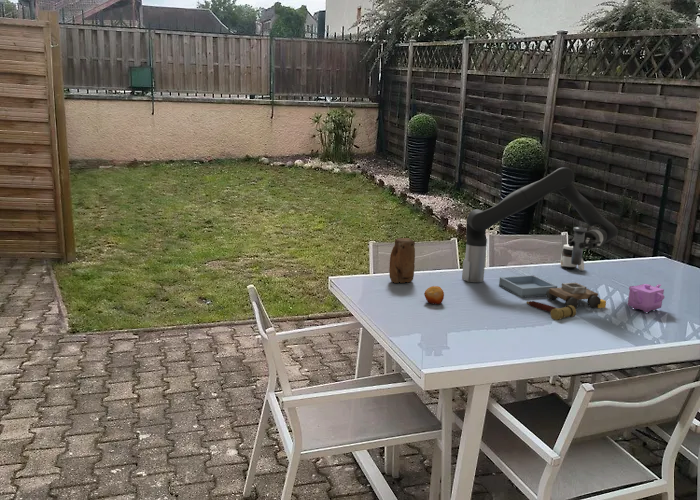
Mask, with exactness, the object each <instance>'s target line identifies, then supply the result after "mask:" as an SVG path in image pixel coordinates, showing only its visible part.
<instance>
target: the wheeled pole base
mask: <svg viewBox="0 0 700 500" xmlns="http://www.w3.org/2000/svg"><path fill="white" fill-rule="evenodd" d="M558 298H559V299H561V300H563V301H565V303H564V305H565V306H564V307H566V306H569V305H572V306H574V307H575V309H576V310H577V308H578V307H579V301H580V300H587V301H586V302H587V306H589V307H591V308H593V309H598V308H597V307H598V305H599V304H600V302H601V300H600V299H601V297H599V293H598V292H595V291H593V290H591V289H588V287H587V286H585V285H582V284H580V283H578V282H566V283H565V282H564V283H562V284H561V287H557V288H550V289H548V290H547V292H546V299H548V300H551V301H555V300H557V299H558Z"/></svg>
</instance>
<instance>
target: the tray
mask: <svg viewBox="0 0 700 500" xmlns="http://www.w3.org/2000/svg"><path fill="white" fill-rule="evenodd" d="M498 287H500V288H502V289H504V290H506V291H508V292H510V293H512V294H514V295H516V296H518V297H520V298H534V297H545V296H546V292H547V290H548V289H550V288H558V285H556V284H555V283H551V282H549V281H547V280H545V279H543V278H540V277H539V276H536V275H533V274H528V275H513V276H501V277H499V284H498Z"/></svg>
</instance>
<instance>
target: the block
mask: <svg viewBox="0 0 700 500" xmlns="http://www.w3.org/2000/svg"><path fill="white" fill-rule="evenodd" d="M415 246H416V242H415V240H414V239H411V238H409V237H404V238H403V237H397V238H396V239H395V240H394V245H393V247H392V250H391V252H390V256H389V267H388V269H389V270H388V271H389V273H388V275H389V279H390V282H391V283H393V282H394V284H400V283H401V284H405V282H407V283H410V282H412V281H414V275H415V261H416V248H415ZM399 282H400V283H399Z"/></svg>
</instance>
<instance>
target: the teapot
mask: <svg viewBox="0 0 700 500" xmlns="http://www.w3.org/2000/svg"><path fill="white" fill-rule="evenodd" d="M661 286H662V284H660V283H659V284H657V285H656V286H653V285H651V284H648V283H643V284H637V285H630V286H629V287H628V290H629V293H628V297H627V298H628V299H627V306H628V307H631V308H634V309H637V310H641V311H644V312H649V313H650V312H651V310H656V311H657V309H661V308H662V305H663V301H664V299H665V298H666V297H665V295H664V293H665V289H664V288H661ZM634 309H633V310H634ZM644 312H643V313H644Z"/></svg>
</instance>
